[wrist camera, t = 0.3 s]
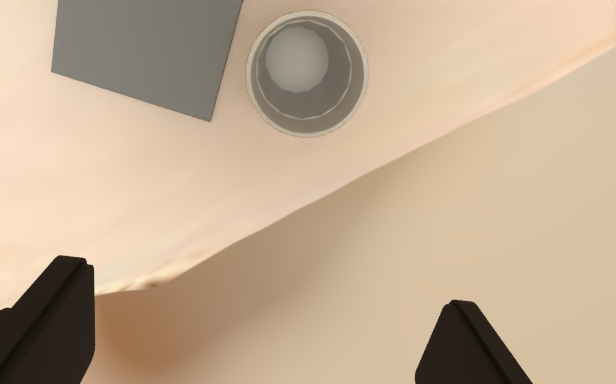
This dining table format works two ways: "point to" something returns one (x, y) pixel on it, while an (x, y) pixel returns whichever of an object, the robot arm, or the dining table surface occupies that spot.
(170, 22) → the mat
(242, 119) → the dining table surface
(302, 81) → the cup
